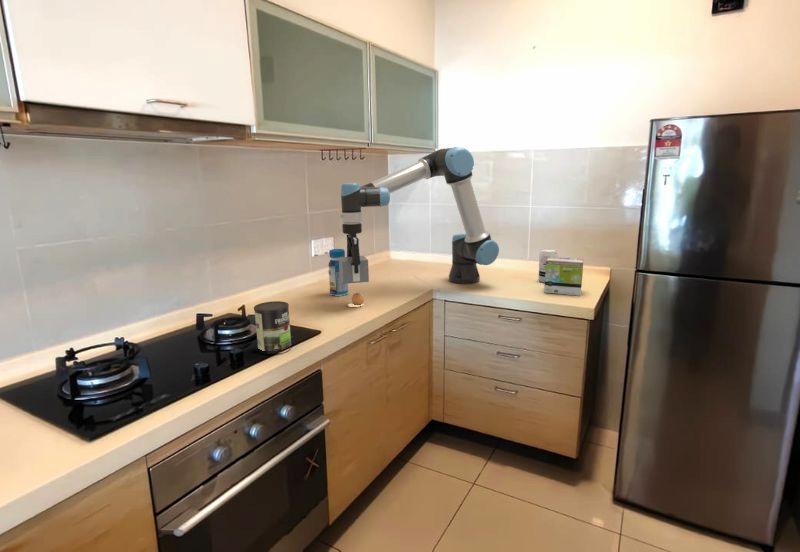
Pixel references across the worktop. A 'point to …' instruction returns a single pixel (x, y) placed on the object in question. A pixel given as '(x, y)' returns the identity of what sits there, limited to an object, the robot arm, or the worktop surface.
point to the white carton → (542, 262)
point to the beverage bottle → (336, 273)
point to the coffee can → (272, 326)
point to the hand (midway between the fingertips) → (354, 278)
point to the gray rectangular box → (346, 270)
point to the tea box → (563, 275)
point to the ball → (357, 299)
